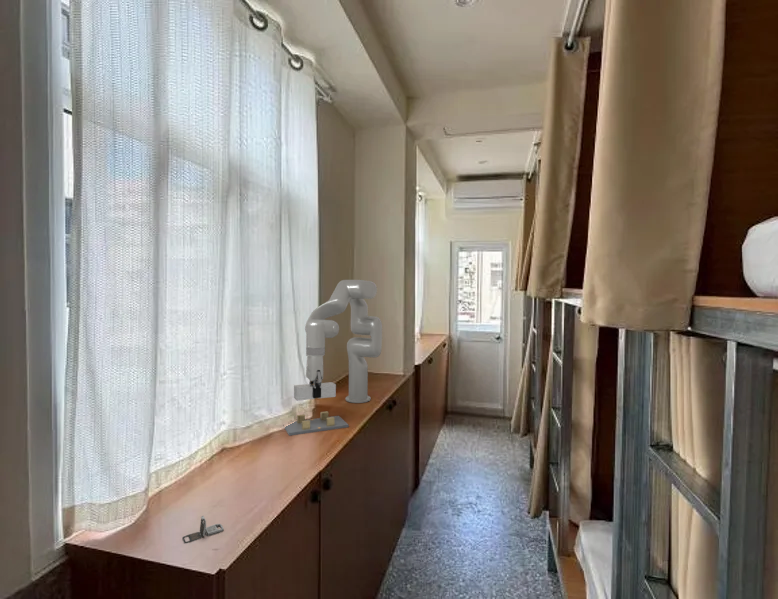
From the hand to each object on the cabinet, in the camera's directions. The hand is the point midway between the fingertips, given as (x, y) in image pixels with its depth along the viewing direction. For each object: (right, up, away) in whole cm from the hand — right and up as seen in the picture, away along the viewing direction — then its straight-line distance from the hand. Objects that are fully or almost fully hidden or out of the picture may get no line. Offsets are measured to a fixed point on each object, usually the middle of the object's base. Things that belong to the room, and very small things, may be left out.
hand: (315, 395), depth 169 cm
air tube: (0, -1, 0) cm, 1 cm away
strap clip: (-13, -15, -74) cm, 76 cm away
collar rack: (0, -13, +1) cm, 13 cm away
